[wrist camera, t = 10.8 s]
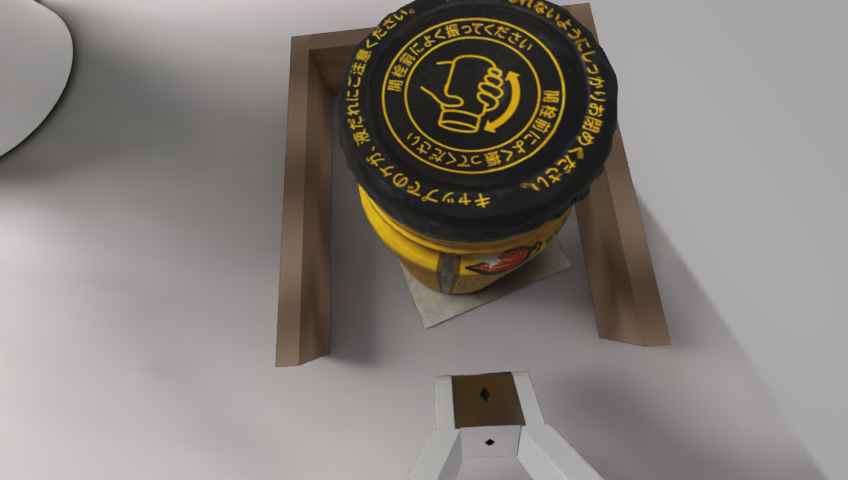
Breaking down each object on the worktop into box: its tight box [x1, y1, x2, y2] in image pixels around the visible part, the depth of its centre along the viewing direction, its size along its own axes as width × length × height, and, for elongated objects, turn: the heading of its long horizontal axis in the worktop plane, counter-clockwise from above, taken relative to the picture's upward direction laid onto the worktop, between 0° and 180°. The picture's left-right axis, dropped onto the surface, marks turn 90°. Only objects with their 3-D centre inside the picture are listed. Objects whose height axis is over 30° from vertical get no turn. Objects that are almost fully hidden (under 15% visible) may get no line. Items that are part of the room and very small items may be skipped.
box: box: [275, 3, 671, 367], centre depth 16 cm, size 17×16×4 cm
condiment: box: [338, 0, 618, 329], centre depth 11 cm, size 7×8×12 cm
